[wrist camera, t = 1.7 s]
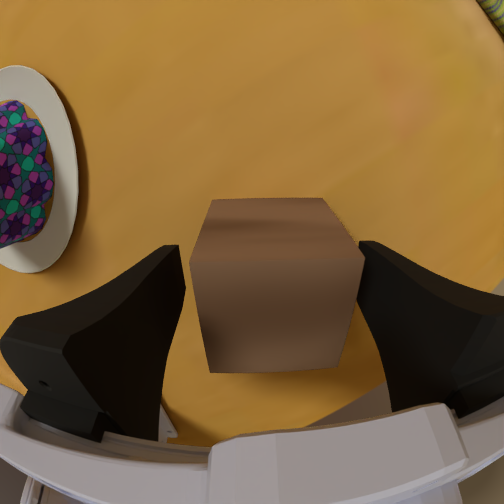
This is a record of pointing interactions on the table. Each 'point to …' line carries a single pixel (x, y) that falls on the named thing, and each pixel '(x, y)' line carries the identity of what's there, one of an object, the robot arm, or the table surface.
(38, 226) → the pudding
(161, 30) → the table surface
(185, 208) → the table surface
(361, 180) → the table surface
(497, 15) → the dish towel
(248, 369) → the walnut block
